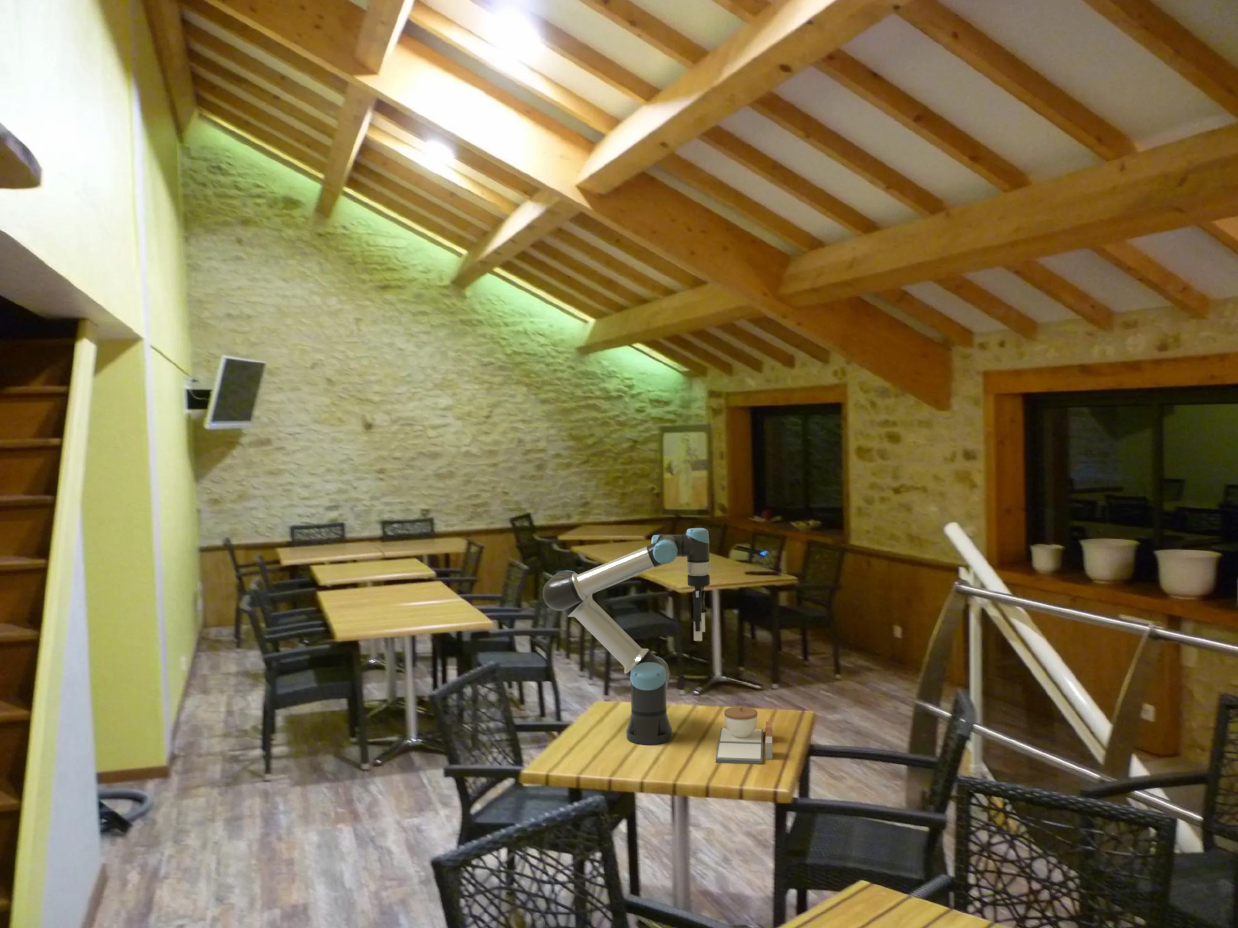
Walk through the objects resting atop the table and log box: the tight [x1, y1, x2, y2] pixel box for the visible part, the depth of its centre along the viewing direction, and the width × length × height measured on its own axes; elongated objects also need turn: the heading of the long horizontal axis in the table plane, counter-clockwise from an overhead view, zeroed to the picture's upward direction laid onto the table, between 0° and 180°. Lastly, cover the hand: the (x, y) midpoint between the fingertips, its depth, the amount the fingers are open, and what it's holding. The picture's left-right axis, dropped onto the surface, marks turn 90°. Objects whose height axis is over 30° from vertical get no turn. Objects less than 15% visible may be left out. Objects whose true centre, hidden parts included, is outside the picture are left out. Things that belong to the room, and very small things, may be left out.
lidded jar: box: [723, 705, 758, 738], centre depth 310 cm, size 11×11×9 cm
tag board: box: [715, 721, 773, 765], centre depth 302 cm, size 17×30×5 cm, turn 171°
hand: (699, 636), depth 323 cm, fingers open, 13 cm apart
